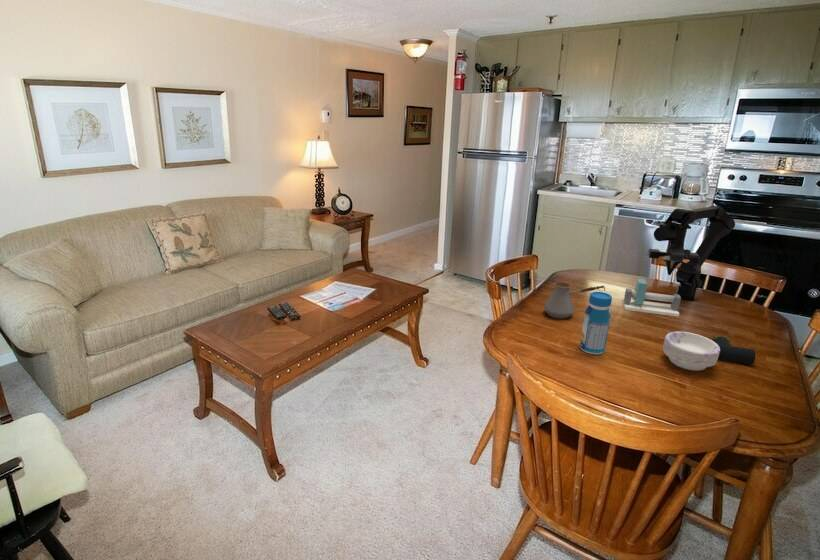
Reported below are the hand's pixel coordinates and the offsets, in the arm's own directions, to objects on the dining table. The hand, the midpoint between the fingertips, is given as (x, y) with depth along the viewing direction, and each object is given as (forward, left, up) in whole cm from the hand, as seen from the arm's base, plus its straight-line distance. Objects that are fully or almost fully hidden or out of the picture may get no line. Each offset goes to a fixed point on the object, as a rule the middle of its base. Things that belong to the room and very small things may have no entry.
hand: (669, 274), depth 193 cm
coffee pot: (+38, +33, -12) cm, 52 cm away
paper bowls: (+2, +58, -12) cm, 59 cm away
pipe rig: (+7, +12, -12) cm, 18 cm away
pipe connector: (-10, +47, -13) cm, 50 cm away
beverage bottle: (+31, +59, -12) cm, 68 cm away
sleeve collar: (+12, +12, -10) cm, 19 cm away
